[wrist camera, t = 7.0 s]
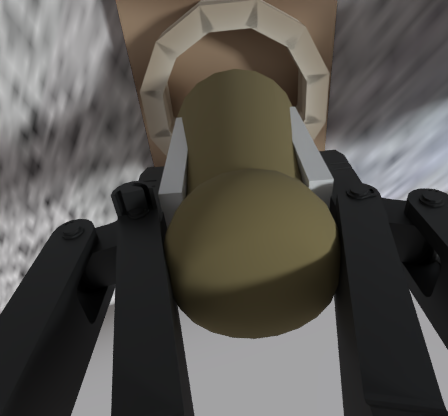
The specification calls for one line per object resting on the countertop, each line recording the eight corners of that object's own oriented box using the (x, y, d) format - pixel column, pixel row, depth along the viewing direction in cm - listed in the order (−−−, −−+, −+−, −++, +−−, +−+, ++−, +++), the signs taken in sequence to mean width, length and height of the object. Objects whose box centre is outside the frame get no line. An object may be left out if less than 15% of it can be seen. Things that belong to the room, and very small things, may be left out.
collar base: (117, -10, 20) (101, -4, 17) (334, -33, 19) (355, -31, 16) (159, 175, 27) (152, 202, 24) (319, 161, 26) (332, 187, 23)
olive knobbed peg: (307, 161, 19) (389, 341, 10) (203, 195, 20) (195, 385, 11) (277, 48, 16) (360, 168, 7) (155, 96, 17) (89, 253, 8)
